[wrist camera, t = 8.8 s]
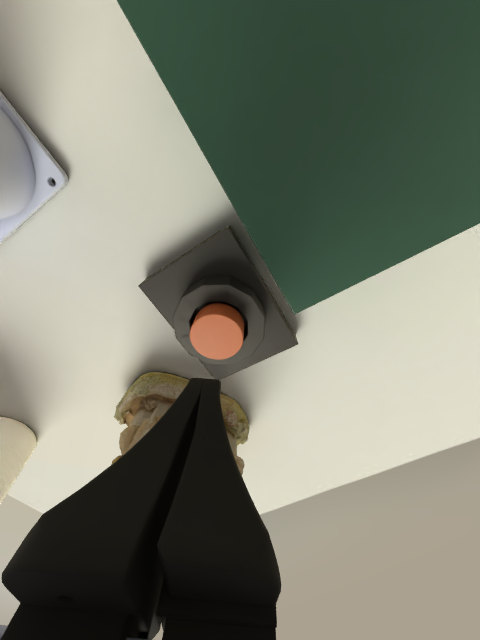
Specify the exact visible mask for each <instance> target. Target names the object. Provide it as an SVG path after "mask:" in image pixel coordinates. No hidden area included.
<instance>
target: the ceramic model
mask: <svg viewBox="0 0 480 640" xmlns="http://www.w3.org/2000/svg"><path fill="white" fill-rule="evenodd" d="M189 381H190V380H188V379H185V378H182V377H179V376H175V375H173V374H168V373H162V372H149V373H146V374H143V375H142V376H141V377H140V378H138V379H137V380H136V381H135V382H134V383H133V384H132V385H131V387H130V388H129V389H128V391H127V392H126V394H125V395H124V397H123V398H122V400H121V401H120V402H119V404H118V405H117V407H116V413H115V416H114V418H116V419H117V420H118V421H119V420H120V422H119V424H125V423H126V424H127V426H128V427H127V428H126V429H125V430H124V431H123V432H122V433H121V434H120V440H119V444H120V449H121V453H122V455H121V456H118V457H116V458H115V459H114V460H113V461H112V464H113V463H115V462H116V461H117V460H118V459H119V458H120V457H122V456H123V455H124V454H125V453H126V452H127V451H128V450H129V449H131V448H132V447H133V446H134V445H135V444H136V443H137V442H138V441H139V440H140V439H141V438H142V437H143V436H144V435H145V434H146V433H147V432H148V431H149V430H150V429H151V428H152V427H153V426H154V425H155V424H156V423H157V422H158V420H159V419H160V418H161V417H162V416H163V415H164V414H165V413H166V411H167V410H168V409H169V408H170V406H171V405H172V404H173V403H174V401H175V400H176V399H177V398H178V396H179V395H180V394H181V392H182V391H183V390H184V388H185V387H186V385H187V384H188V382H189ZM220 400H221V408H222V413H223V419H224V423H225V428H226V431H227V435H228V439H229V442H230V446H231V449H232V452H233V455H234V458H235V460H236V463H237V466H238V469H239V471H240V473H241V475H242V474H243V468H244V462H243V459H241V458H240V457H238V456H237V445H238V444H239V443H241V444H244V443H245V442H246V441H247V438H248V433H249V425H248V422H247V417H246V415H245V413H244V411H243V410H242V408H241V407H240V406H239V404H238V403H237V402H236V401H235V400H234V399H232V398H230V397H228V396H226V395H224V394H221V393H220Z"/></svg>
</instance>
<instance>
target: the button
mask: <svg viewBox="0 0 480 640" xmlns="http://www.w3.org/2000/svg"><path fill="white" fill-rule="evenodd" d="M243 338H244V321H243V318H242V316H241V315H240V313H239V312H238V311H237V310H236V309H235V308H233V307H231V306H229V305H227V304H223V303H213V304H209V305H207V306H205V307H203V308H202V309H201V310H200V311H199V312H198V313H197V315H196V317H195V320H194V322H193V324H192V326H191V329H190V340H191V343H192V345H193V347H194V348H195V349H196V351H197V352H199V353H200V354H201V355H203V356H205V357H207V358H210V359H217V360H220V359H226V358H229V357H231V356H233V355H235V354H236V353H237V352H238V351H239V350H240V348H241V346H242V344H243Z"/></svg>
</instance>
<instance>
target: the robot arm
mask: <svg viewBox="0 0 480 640" xmlns="http://www.w3.org/2000/svg"><path fill="white" fill-rule="evenodd" d="M52 178H53V179H54V180H55V181H56V185H53V183H52ZM67 183H68V177H67V175H66V173H65V172H64V170H63V169H62V168H61V167H60V165H59V164H58V163H57V162H56V160H55V159H54V158H53V157H52V155H51V154H50V153H49V152H48V150H47V149H46V148H45V147H44V145H43V144H42V143H41V142H40V140H39V139H38V138H37V136H36V135H35V134H34V133H33V131H32V130H31V129H30V128H29V126H28V125H27V124H26V123H25V121H24V120H23V119H22V118H21V116H20V115H19V114H18V113H17V111H16V110H15V109H14V108H13V106H12V105H11V104H10V102H9V101H8V100H7V99H6V97H5V96H4V95H3V94H2V92H1V91H0V244H1V243H2V242H3V241H4V240H5V239H7V238H8V237H9V236H10V235H11V234H12V233H13V232H14V231H15V230H17V229H18V228H19V227H20V226H21V225H22V224H23V223H24V222H25V221H27V220H28V219H29V218H30V217H31V216H32V215H33V214H34V213H35V212H37V211H38V210H39V209H40V208H41V207H42V206H43V205H44V204H45V203H47V202H48V201H49V200H50V199H51V198H52V197H53V196H54V195H55V194H57V193H58V192H59V191H60V190H61V189H62V188H63V187H64V186H65V185H66V184H67ZM220 389H221V382H220V381H219V380H214V379H202V378H191V379H190V381H189V382H188V384H187V385H186V387H185V388H184V390H183V391H182V392H181V394H180V395H179V396H178V398H177V399H176V400H175V401H174V403H173V404H172V405H171V406H170V408H169V409H168V410H167V411H166V413H165V414H164V415H163V416H162V417H161V418H160V419H159V420H158V422H157V423H156V424H155V425H154V426H153V427H152V428H151V429H150V430H149V431H148V432H147V433H146V434H145V435H144V436H143V437H142V438H141V439H140V440H139V441H138V442H137V443H136V444H135V445H134V446H133V447H132V448H131V449H129V450H128V451H127V452H126V453H125V454H124V455H123V456H122V457H120V458H119V459H118V460H117V461H116V462H115V463H113V464H112V465H111V466H110V467H108V468H107V469H106V470H105V471H103V472H102V473H101V474H99V475H98V476H97V477H95V478H94V479H93V480H92V481H90V482H89V483H88V484H86V485H85V486H84V487H82V488H81V489H79V490H78V491H77V492H75V493H74V494H72V495H71V496H69V497H68V498H66V499H65V500H63V501H62V502H60V503H59V504H58V505H56V506H55V507H53V508H52V509H50V510H49V511H47V512H46V513H44V514H43V515H42V516H41V517H40V519H39V520H38V522H37V523H36V524H35V525H34V527H33V528H32V529H31V530H30V532H29V533H28V535H27V536H26V538H25V539H24V540H23V542H22V544H21V545H20V547H19V548H18V550H17V551H16V553H15V554H14V556H13V557H12V559H11V560H10V562H9V564H8V565H7V567H6V568H5V570H4V571H3V573H2V583H3V584H4V586H5V587H6V588H7V589H8V590H9V591H10V592H11V593H12V594H13V595H14V596H15V597H16V599H17V600H19V602H20V605H19V607H18V609H17V611H16V613H15V614H14V616H13V618H12V619H11V621H10V623H9V625H8V626H5V625H0V640H152V639H153V638H154V637H155V636H156V634H157V633H158V632H159V630H160V625H161V623H162V627H163V631H164V632H163V638H162V640H276V630H275V628H276V627H277V619H276V602H277V599H278V597H279V594H280V592H281V579H280V573H279V568H278V564H277V560H276V557H275V553H274V549H273V546H272V543H271V540H270V536H269V533H268V531H267V529H266V527H265V525H264V523H263V521H262V520H261V518H260V515H259V513H258V511H257V509H256V507H255V505H254V503H253V501H252V499H251V497H250V495H249V492H248V490H247V488H246V485H245V483H244V481H243V478H242V476H241V473H240V471H239V469H238V466H237V463H236V460H235V458H234V455H233V452H232V449H231V446H230V442H229V439H228V435H227V431H226V428H225V423H224V419H223V413H222V408H221V400H220Z"/></svg>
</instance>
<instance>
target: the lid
mask: <svg viewBox="0 0 480 640" xmlns="http://www.w3.org/2000/svg"><path fill="white" fill-rule="evenodd" d="M117 2H118V4H119V5H120V7H121V9H122V11H123V12H124V14H125V16H126V18H127V19H128V21H129V23H130V25H131V27H132V28H133V30H134V32H135V34H136V35H137V37H138V39H139V41H140V42H141V44H142V46H143V48H144V49H145V51H146V53H147V55H148V57H149V58H150V60H151V62H152V64H153V65H154V67H155V69H156V71H157V72H158V74H159V76H160V78H161V80H162V81H163V83H164V85H165V87H166V88H167V90H168V92H169V94H170V95H171V97H172V99H173V101H174V103H175V104H176V106H177V108H178V110H179V111H180V113H181V115H182V117H183V118H184V120H185V122H186V124H187V126H188V127H189V129H190V131H191V133H192V134H193V136H194V138H195V140H196V141H197V143H198V145H199V147H200V149H201V150H202V152H203V154H204V156H205V157H206V159H207V161H208V163H209V164H210V166H211V168H212V170H213V171H214V173H215V175H216V177H217V179H218V180H219V182H220V184H221V186H222V187H223V189H224V191H225V193H226V194H227V196H228V198H229V200H230V202H231V203H232V205H233V207H234V209H235V210H236V212H237V214H238V216H239V217H240V219H241V221H242V223H243V225H244V226H245V228H246V230H247V232H248V233H249V235H250V237H251V239H252V240H253V242H254V244H255V246H256V248H257V249H258V251H259V253H260V255H261V256H262V258H263V260H264V262H265V263H266V265H267V267H268V269H269V271H270V272H271V274H272V276H273V278H274V279H275V281H276V283H277V285H278V286H279V288H280V290H281V292H282V294H283V295H284V297H285V299H286V301H287V302H288V304H289V306H290V308H291V309H292V311H293V313H294V314H296V313H298V312H300V311H302V310H304V309H306V308H308V307H310V306H313V305H315V304H317V303H319V302H321V301H323V300H325V299H327V298H329V297H331V296H333V295H335V294H337V293H339V292H341V291H343V290H345V289H347V288H349V287H351V286H353V285H355V284H357V283H359V282H361V281H363V280H365V279H367V278H369V277H372V276H374V275H376V274H378V273H380V272H382V271H384V270H386V269H388V268H390V267H392V266H394V265H396V264H398V263H400V262H402V261H404V260H406V259H408V258H410V257H412V256H414V255H416V254H418V253H420V252H422V251H424V250H426V249H428V248H431V247H433V246H435V245H437V244H439V243H441V242H443V241H445V240H447V239H449V238H451V237H453V236H455V235H457V234H459V233H461V232H463V231H465V230H467V229H469V228H471V227H473V226H475V225H477V224H479V223H480V0H117Z"/></svg>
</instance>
